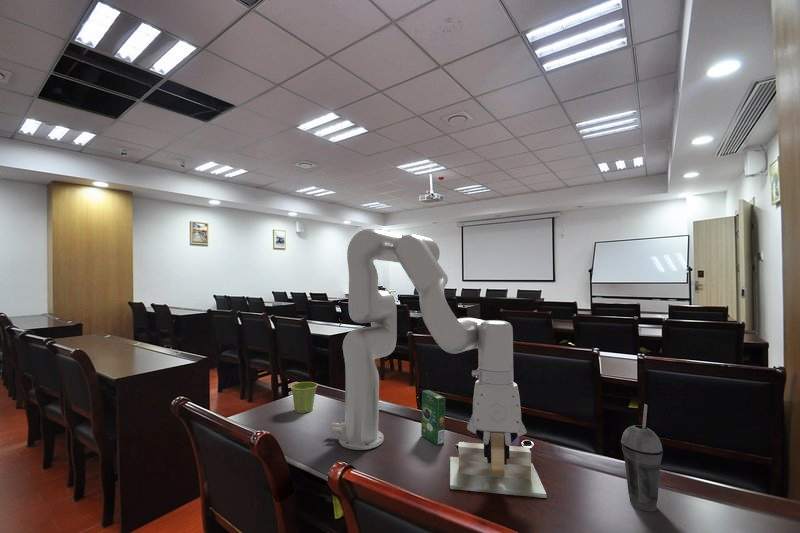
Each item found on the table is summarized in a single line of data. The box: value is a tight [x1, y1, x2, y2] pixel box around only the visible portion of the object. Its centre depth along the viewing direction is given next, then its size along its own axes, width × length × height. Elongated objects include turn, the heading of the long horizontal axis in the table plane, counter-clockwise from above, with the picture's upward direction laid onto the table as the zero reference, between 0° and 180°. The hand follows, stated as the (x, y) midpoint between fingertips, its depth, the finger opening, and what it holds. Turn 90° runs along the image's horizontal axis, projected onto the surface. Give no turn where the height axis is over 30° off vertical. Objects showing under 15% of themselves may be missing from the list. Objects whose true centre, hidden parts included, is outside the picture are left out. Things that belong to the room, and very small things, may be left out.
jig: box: [449, 441, 548, 499], centre depth 82 cm, size 20×13×7 cm, turn 82°
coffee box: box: [420, 389, 446, 446], centre depth 102 cm, size 8×3×13 cm, turn 32°
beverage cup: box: [620, 403, 664, 512], centre depth 73 cm, size 7×7×20 cm
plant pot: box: [289, 381, 319, 414], centre depth 124 cm, size 9×9×9 cm
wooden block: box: [489, 432, 504, 477], centre depth 82 cm, size 12×3×9 cm, turn 172°
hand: (496, 460), depth 78 cm, fingers closed on wooden block, 2 cm apart
